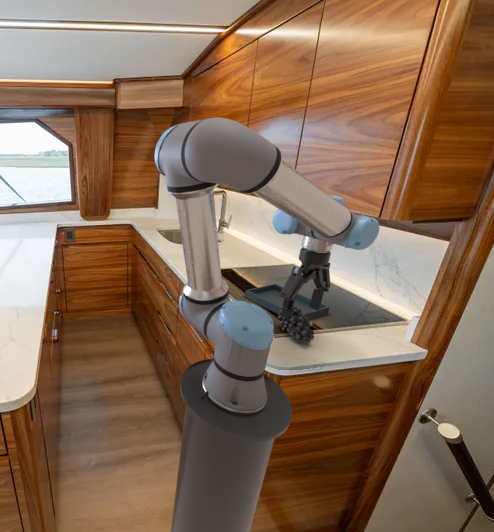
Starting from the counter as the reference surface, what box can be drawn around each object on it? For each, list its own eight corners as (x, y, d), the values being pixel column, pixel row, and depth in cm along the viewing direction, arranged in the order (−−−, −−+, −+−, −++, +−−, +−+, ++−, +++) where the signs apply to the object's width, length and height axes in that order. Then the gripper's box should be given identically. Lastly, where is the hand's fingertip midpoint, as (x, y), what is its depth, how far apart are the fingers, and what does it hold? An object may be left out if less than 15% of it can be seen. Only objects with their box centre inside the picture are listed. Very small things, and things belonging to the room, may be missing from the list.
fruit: (321, 324, 87) (298, 299, 101) (291, 329, 89) (272, 305, 103) (324, 347, 90) (301, 321, 104) (294, 353, 92) (275, 325, 105)
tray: (296, 324, 104) (298, 316, 103) (244, 296, 124) (245, 290, 123) (327, 314, 111) (329, 306, 110) (273, 289, 131) (275, 283, 129)
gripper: (299, 259, 79) (283, 327, 87) (355, 247, 89) (337, 309, 96) (274, 251, 86) (262, 315, 93) (329, 241, 95) (314, 300, 103)
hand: (300, 312), depth 95 cm, fingers open, 13 cm apart
